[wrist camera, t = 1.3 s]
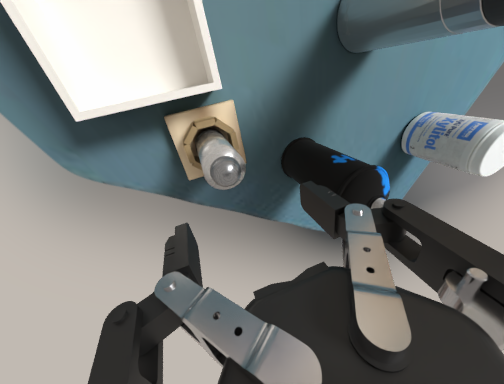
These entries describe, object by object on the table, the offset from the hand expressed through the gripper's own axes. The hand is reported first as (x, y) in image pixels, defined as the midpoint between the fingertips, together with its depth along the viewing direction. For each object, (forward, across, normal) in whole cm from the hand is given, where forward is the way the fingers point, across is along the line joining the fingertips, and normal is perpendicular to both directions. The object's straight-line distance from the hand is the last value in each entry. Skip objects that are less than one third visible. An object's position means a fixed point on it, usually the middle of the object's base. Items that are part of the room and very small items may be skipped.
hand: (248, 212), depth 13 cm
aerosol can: (+22, -16, +8) cm, 28 cm away
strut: (+20, 0, 0) cm, 20 cm away
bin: (+22, +5, -15) cm, 27 cm away
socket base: (+22, 0, 0) cm, 22 cm away
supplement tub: (+22, -46, +11) cm, 52 cm away
